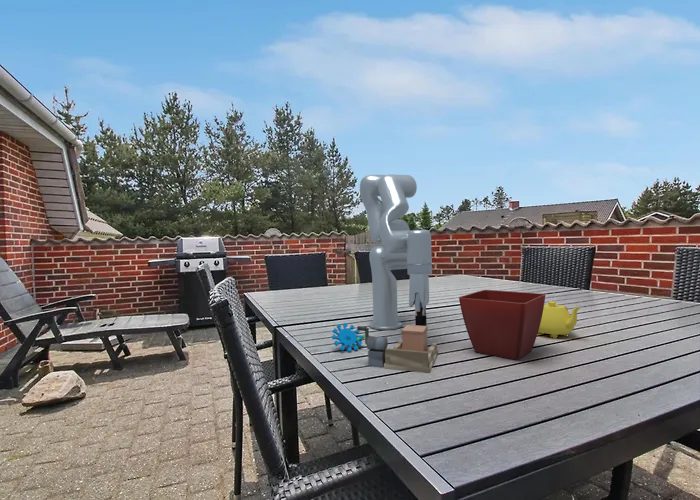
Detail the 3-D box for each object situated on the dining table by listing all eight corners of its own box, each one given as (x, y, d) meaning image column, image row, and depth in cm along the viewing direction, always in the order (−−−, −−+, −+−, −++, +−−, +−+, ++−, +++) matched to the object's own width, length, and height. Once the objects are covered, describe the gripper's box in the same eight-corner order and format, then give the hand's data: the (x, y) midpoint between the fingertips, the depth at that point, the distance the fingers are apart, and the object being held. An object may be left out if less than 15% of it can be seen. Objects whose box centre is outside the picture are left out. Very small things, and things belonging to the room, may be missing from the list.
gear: (334, 349, 113) (331, 321, 120) (329, 359, 117) (326, 331, 124) (369, 350, 116) (363, 322, 123) (363, 359, 120) (358, 332, 127)
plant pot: (458, 352, 112) (457, 296, 112) (485, 339, 126) (484, 289, 126) (525, 366, 99) (524, 303, 99) (547, 349, 113) (546, 294, 113)
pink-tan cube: (407, 347, 115) (406, 324, 114) (427, 349, 112) (427, 325, 112) (401, 354, 108) (401, 330, 108) (423, 356, 106) (423, 331, 105)
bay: (373, 347, 119) (373, 315, 119) (438, 353, 112) (437, 319, 112) (355, 365, 103) (354, 328, 103) (429, 372, 96) (428, 333, 96)
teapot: (596, 338, 125) (596, 303, 124) (568, 344, 118) (568, 308, 118) (541, 325, 142) (541, 295, 142) (514, 331, 136) (514, 299, 135)
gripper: (412, 268, 126) (413, 322, 126) (402, 271, 112) (404, 333, 112) (435, 267, 123) (436, 323, 124) (427, 271, 109) (429, 334, 110)
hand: (421, 328), depth 118 cm, fingers closed
